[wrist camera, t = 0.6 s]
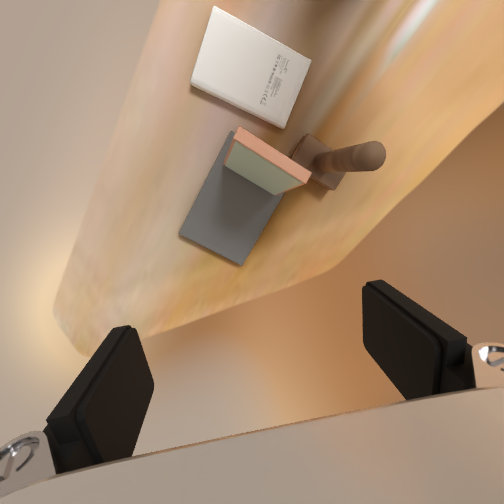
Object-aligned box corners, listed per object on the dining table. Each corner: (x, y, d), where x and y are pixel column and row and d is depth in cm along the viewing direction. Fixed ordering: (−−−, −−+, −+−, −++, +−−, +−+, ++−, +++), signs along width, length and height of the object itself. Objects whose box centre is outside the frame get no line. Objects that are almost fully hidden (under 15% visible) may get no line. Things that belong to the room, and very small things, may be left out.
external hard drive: (214, 12, 30) (308, 64, 32) (191, 86, 32) (282, 130, 34) (213, 3, 28) (312, 58, 31) (189, 81, 30) (284, 128, 32)
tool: (303, 136, 34) (354, 110, 21) (344, 163, 36) (416, 156, 22) (287, 163, 35) (326, 155, 21) (328, 189, 36) (388, 197, 23)
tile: (227, 155, 33) (239, 126, 23) (279, 187, 35) (311, 172, 25) (222, 165, 33) (232, 139, 23) (275, 196, 35) (305, 185, 25)
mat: (230, 131, 33) (231, 130, 32) (295, 172, 35) (296, 172, 34) (179, 232, 36) (178, 233, 35) (241, 264, 38) (241, 265, 37)
